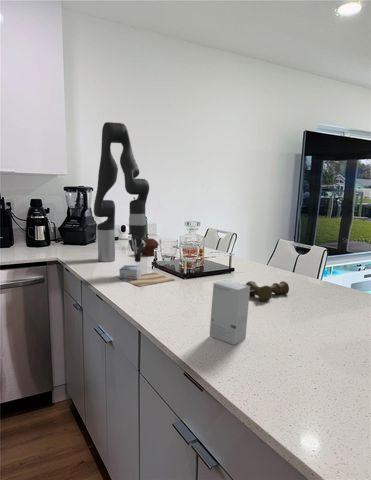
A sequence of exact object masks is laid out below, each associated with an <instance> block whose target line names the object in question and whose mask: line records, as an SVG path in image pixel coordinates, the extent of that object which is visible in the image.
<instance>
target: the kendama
mask: <svg viewBox="0 0 371 480" xmlns="http://www.w3.org/2000/svg"><path fill="white" fill-rule="evenodd" d="M245 285H248V286H250V294H249V296H254V295H255V296H257V297H258V299H259V301H261V302H262V303H264V302H265V303H266V302H269V300H271V298H272V295H273V294H275V295H280V294H283V295H288V294H289V291H290V286H289V284H288V282H286V281H285V280H283V281H280V282H279V283H277V282H274V283H272V284H271V285H270V286H269V285H263V286H259V285H257V283H256V282H255V281H252V280H250V281H248V282H246V283H245Z"/></svg>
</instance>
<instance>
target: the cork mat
mask: <svg viewBox="0 0 371 480" xmlns="http://www.w3.org/2000/svg"><path fill="white" fill-rule="evenodd" d="M122 280H123V281H125V282H128V283H129V284H132V285H134V286H135V287H138V288H141V287H142V288H143V287H147V286H152V285H157V284H162V283H167V282H174V281H175V280H176V279H175V278H171V277H169V276H166V275H164V274H162V273H161V274H160V273H158V272H150V273H149V272H148V273H141V276H140V277H139V278H138V279H122Z"/></svg>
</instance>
